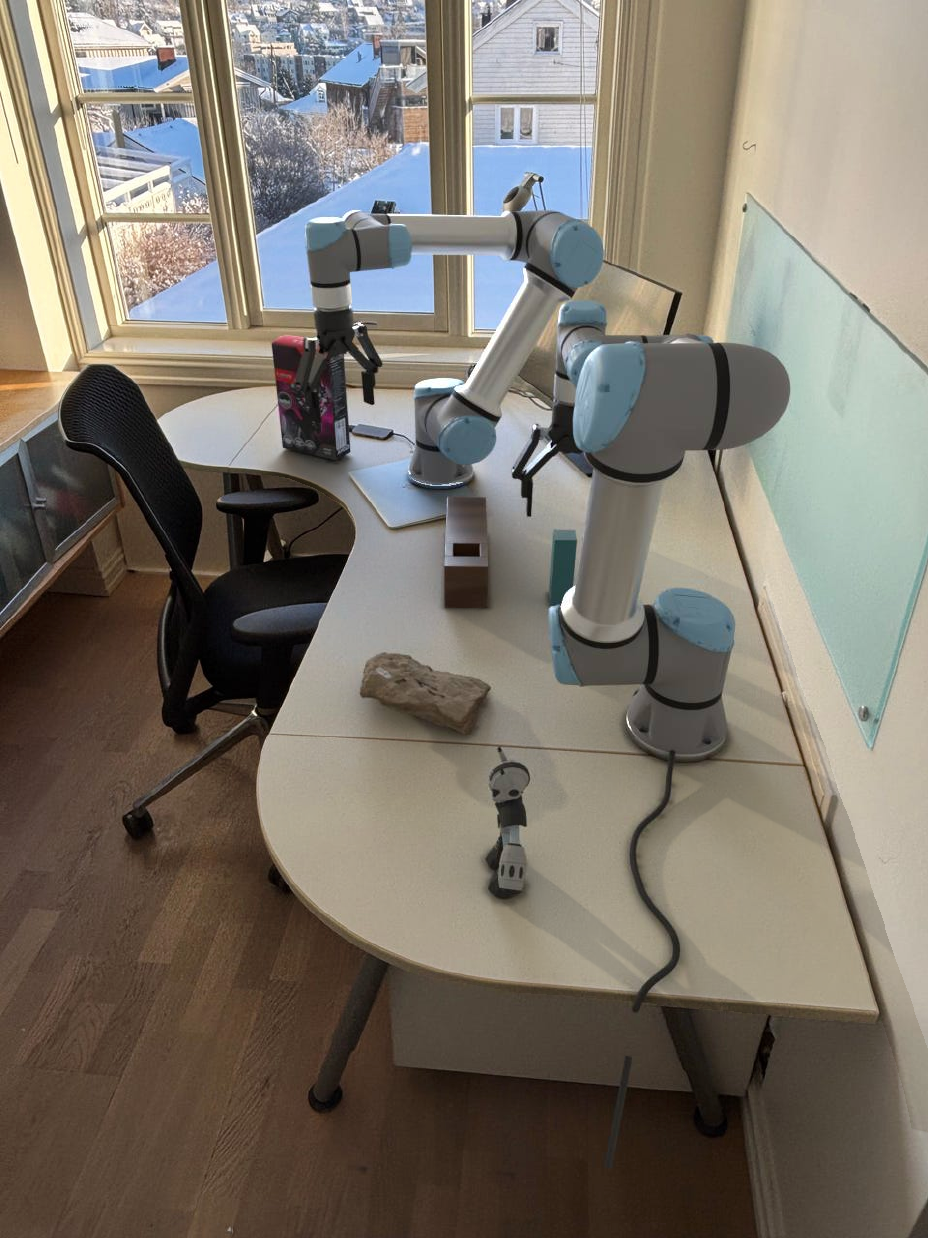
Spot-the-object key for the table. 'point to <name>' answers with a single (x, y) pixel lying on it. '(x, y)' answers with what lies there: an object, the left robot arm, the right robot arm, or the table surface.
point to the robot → (508, 827)
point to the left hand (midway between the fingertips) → (343, 412)
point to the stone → (424, 691)
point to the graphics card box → (294, 414)
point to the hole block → (466, 553)
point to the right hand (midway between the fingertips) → (566, 513)
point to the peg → (562, 565)
